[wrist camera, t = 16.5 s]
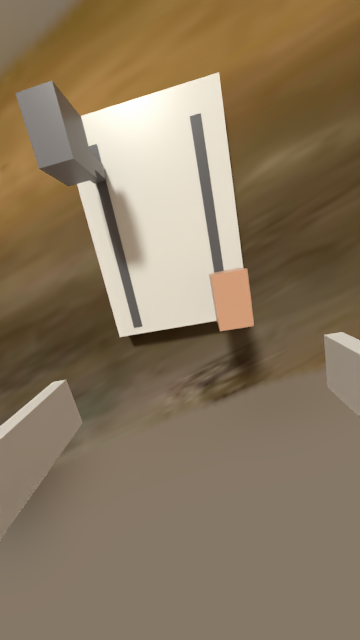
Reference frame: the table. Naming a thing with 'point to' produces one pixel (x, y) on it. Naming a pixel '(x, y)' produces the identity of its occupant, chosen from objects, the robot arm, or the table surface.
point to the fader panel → (162, 205)
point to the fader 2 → (231, 299)
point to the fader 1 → (58, 136)
